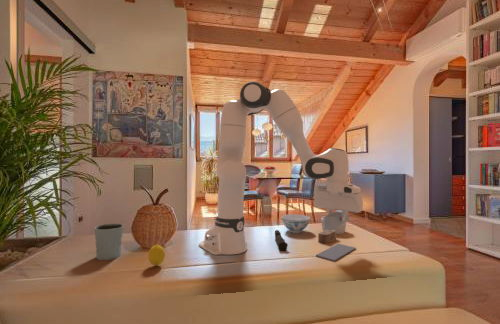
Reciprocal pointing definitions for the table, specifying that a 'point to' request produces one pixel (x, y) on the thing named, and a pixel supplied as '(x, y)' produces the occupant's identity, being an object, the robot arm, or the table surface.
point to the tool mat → (335, 252)
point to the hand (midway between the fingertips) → (337, 220)
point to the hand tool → (280, 241)
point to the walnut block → (326, 236)
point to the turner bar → (334, 219)
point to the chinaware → (295, 222)
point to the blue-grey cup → (108, 241)
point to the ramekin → (338, 230)
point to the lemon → (156, 255)
